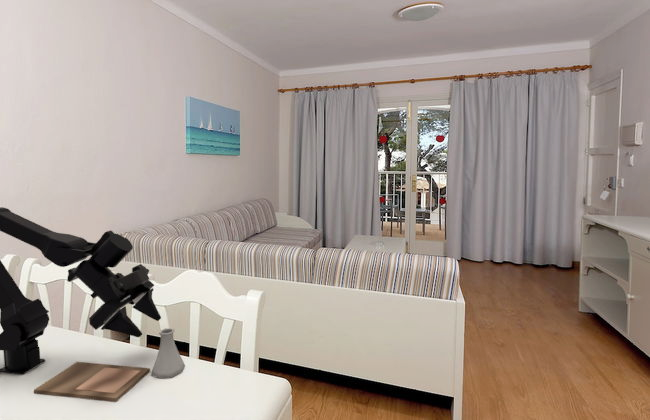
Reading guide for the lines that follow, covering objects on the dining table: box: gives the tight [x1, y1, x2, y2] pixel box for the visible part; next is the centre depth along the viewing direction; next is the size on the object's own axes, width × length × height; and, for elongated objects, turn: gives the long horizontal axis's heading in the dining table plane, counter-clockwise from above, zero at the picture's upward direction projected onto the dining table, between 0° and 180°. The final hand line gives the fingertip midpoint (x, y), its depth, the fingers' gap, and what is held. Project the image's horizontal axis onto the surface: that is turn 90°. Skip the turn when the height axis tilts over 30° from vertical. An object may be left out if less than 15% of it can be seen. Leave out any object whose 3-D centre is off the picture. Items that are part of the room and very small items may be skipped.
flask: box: [150, 327, 186, 379], centre depth 91 cm, size 7×7×10 cm
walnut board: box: [33, 361, 151, 403], centre depth 86 cm, size 19×12×1 cm, turn 82°
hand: (150, 327), depth 90 cm, fingers open, 9 cm apart
